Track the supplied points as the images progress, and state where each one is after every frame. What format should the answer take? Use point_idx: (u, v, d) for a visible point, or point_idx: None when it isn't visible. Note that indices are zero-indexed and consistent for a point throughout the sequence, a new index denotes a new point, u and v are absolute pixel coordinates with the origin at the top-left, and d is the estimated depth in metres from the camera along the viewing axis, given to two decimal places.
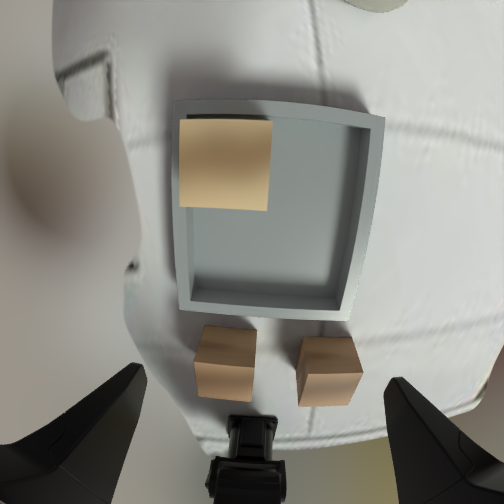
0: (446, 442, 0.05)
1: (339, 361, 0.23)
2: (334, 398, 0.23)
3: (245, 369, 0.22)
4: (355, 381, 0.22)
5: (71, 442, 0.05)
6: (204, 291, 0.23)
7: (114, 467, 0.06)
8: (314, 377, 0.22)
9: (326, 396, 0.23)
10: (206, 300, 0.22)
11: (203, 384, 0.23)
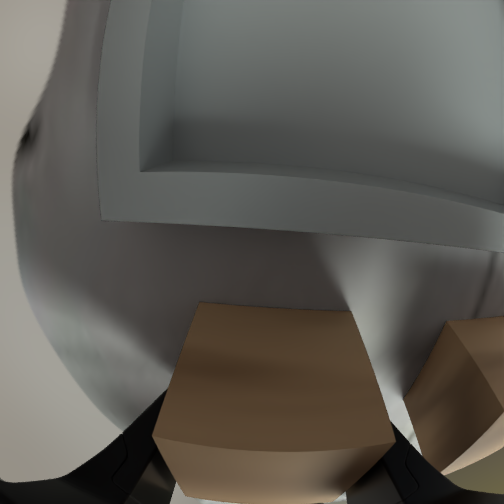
0: (391, 456, 0.05)
1: None
2: (496, 444, 0.06)
3: (361, 452, 0.04)
4: None
5: (136, 466, 0.05)
6: (201, 162, 0.06)
7: (170, 483, 0.06)
8: None
9: (489, 447, 0.06)
10: (209, 169, 0.05)
11: (197, 484, 0.06)
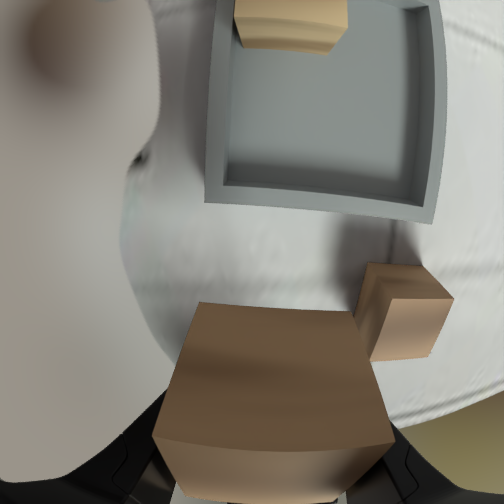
0: (392, 456, 0.05)
1: (422, 286, 0.16)
2: (415, 345, 0.16)
3: (361, 452, 0.04)
4: (443, 313, 0.15)
5: (136, 466, 0.05)
6: (241, 182, 0.16)
7: (170, 483, 0.06)
8: (398, 305, 0.15)
9: (407, 342, 0.16)
10: (247, 186, 0.15)
11: (197, 483, 0.06)
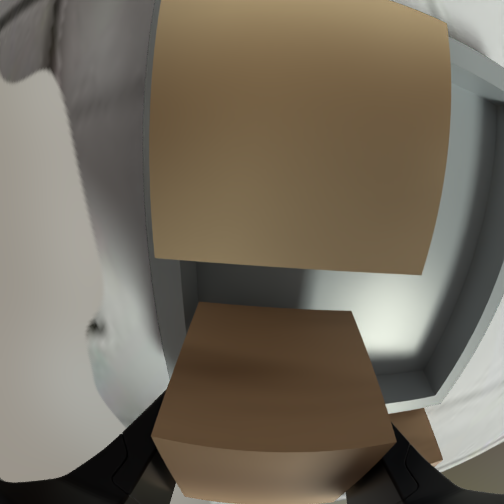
0: (391, 456, 0.05)
1: None
2: None
3: (361, 453, 0.04)
4: None
5: (136, 466, 0.05)
6: None
7: (171, 483, 0.06)
8: None
9: None
10: None
11: (197, 484, 0.06)
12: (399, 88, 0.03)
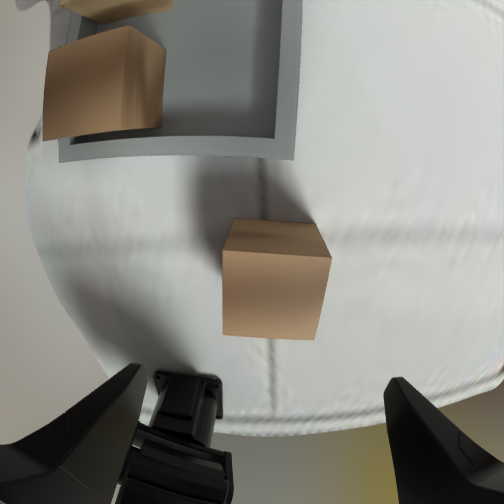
0: (446, 442, 0.05)
1: (288, 242, 0.14)
2: (286, 320, 0.14)
3: (114, 34, 0.08)
4: (318, 278, 0.13)
5: (71, 442, 0.05)
6: (94, 141, 0.15)
7: (114, 467, 0.06)
8: (235, 261, 0.13)
9: (269, 314, 0.14)
10: (88, 142, 0.13)
11: (51, 101, 0.09)
12: None
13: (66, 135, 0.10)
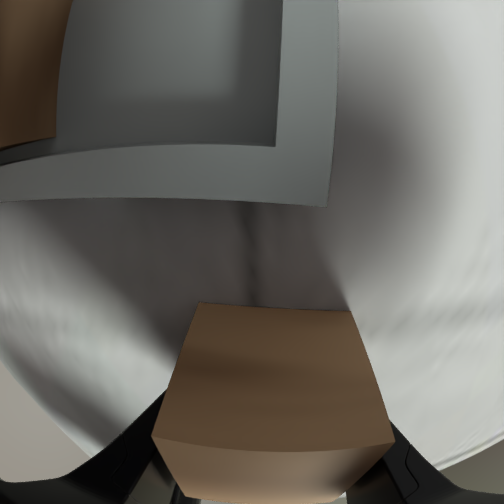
0: (392, 456, 0.05)
1: (302, 394, 0.06)
2: (288, 496, 0.06)
3: None
4: (358, 465, 0.05)
5: (136, 466, 0.05)
6: None
7: (170, 483, 0.06)
8: (184, 451, 0.05)
9: (259, 493, 0.06)
10: None
11: None
12: None
13: None
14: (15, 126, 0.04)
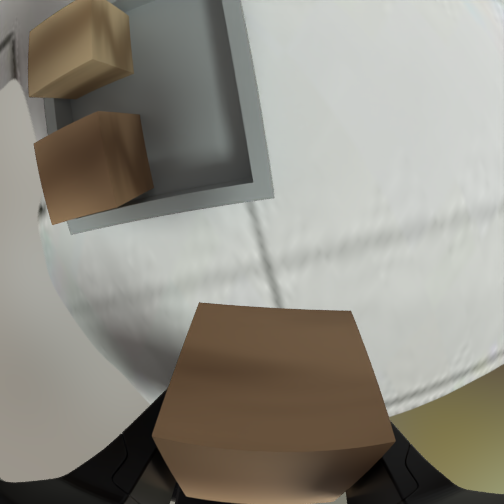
0: (391, 456, 0.05)
1: (303, 394, 0.06)
2: (289, 496, 0.06)
3: (87, 121, 0.11)
4: (359, 464, 0.05)
5: (136, 466, 0.05)
6: None
7: (170, 483, 0.06)
8: (184, 451, 0.05)
9: (260, 493, 0.06)
10: None
11: (49, 189, 0.12)
12: (75, 21, 0.08)
13: (72, 218, 0.13)
14: (141, 186, 0.15)
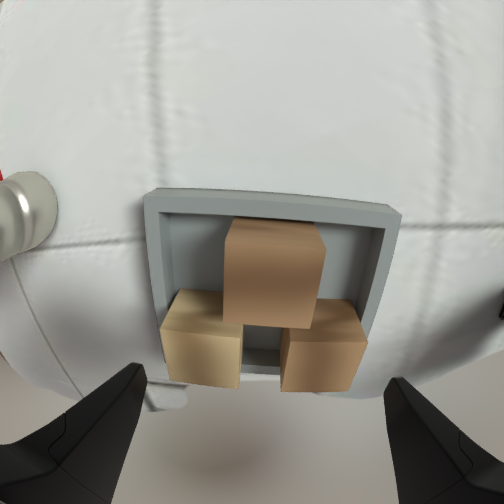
0: (446, 442, 0.05)
1: (286, 234, 0.15)
2: (283, 308, 0.15)
3: (293, 350, 0.16)
4: (314, 268, 0.14)
5: (71, 442, 0.05)
6: None
7: (114, 467, 0.06)
8: (237, 250, 0.14)
9: (267, 302, 0.15)
10: None
11: (323, 386, 0.18)
12: (188, 345, 0.17)
13: (353, 375, 0.17)
14: (350, 312, 0.19)
